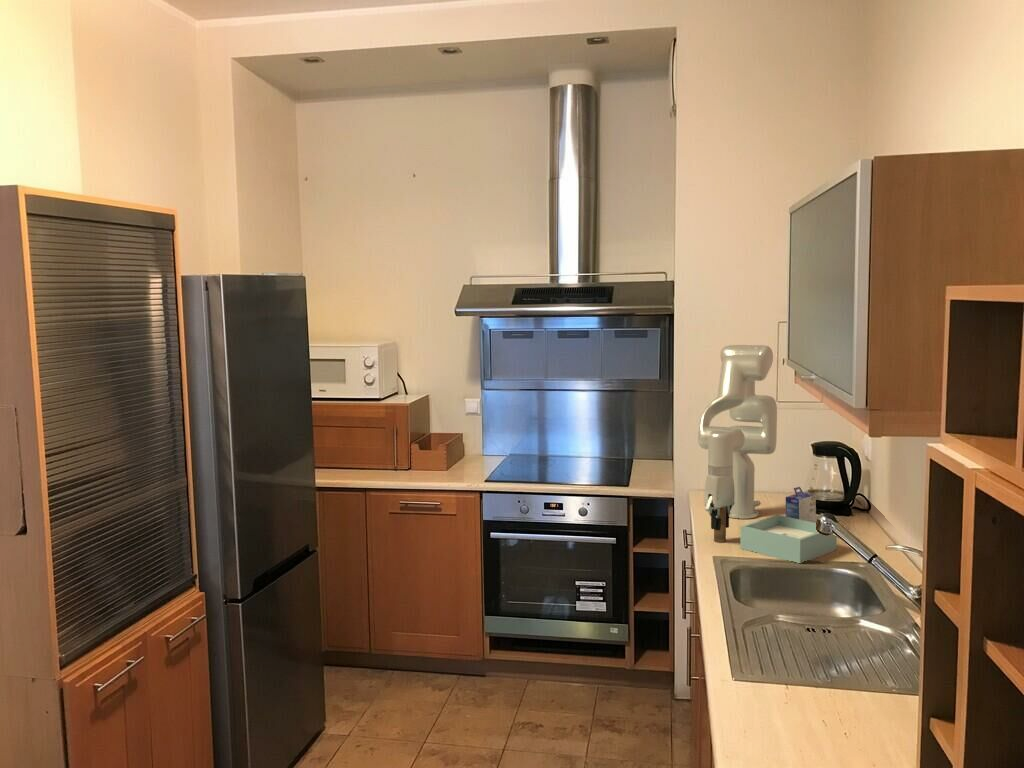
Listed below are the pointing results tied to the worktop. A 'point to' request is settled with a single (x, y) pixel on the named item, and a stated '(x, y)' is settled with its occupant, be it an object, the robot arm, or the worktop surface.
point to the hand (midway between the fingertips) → (719, 527)
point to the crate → (786, 539)
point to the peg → (721, 534)
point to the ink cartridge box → (801, 506)
